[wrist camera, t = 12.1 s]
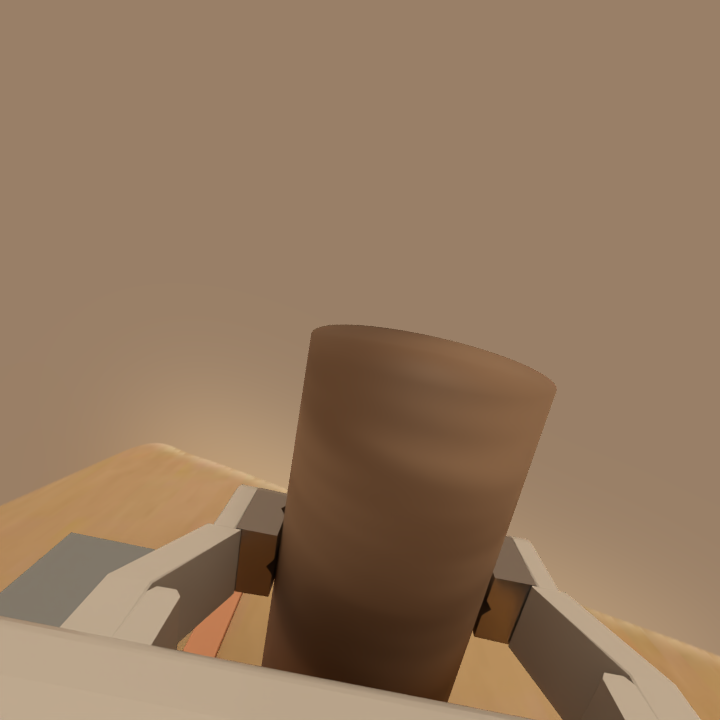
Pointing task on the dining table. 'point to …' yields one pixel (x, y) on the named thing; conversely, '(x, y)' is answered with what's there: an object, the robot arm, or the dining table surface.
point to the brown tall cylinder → (398, 505)
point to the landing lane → (92, 588)
